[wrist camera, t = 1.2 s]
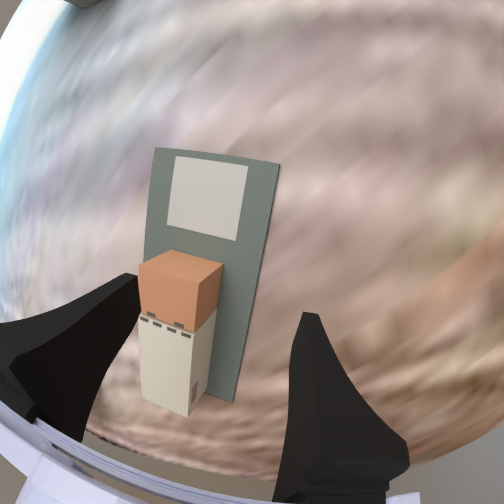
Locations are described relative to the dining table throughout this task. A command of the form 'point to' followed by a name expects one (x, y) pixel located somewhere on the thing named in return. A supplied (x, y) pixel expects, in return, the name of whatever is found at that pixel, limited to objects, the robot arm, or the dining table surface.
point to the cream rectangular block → (174, 362)
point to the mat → (215, 237)
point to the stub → (179, 288)
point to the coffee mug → (82, 2)
